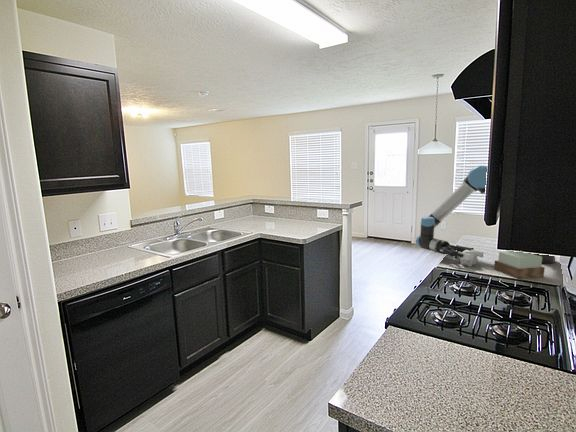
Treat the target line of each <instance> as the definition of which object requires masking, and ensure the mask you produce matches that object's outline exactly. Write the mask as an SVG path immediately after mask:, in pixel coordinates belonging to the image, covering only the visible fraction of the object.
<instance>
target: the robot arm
mask: <svg viewBox="0 0 576 432" xmlns="http://www.w3.org/2000/svg"><path fill="white" fill-rule="evenodd" d="M487 167H488V166H487V165H477V166H474V167H473V168H471V169H470V171H469V172H468V174H467V176H466V177H465V178H464V179H463V180H462V183H461V184H460V185H459V187H458V188H456V189H455V190H454V191H453V192H452V193H451V194H450V195H449V196H448V197H447V198H446V199H445V200H444V201H443V202H442V203H441V204H440V205H438V206H437V208H436V209H435V210H434V211H432V212H431V214H429V215H428V216H422V217H420V218H421V220H420V233H419V234H420V235H417V237H416V239H415V244H416V246H417V247H419V248H421V249H423V250H428V251H432V252H434V253H438V254H441V255H446V256H448V257H449V256H450V257H454V259H455V258H456V259H457V258H459V257H460V258H464V259H467V260H470V254H466V253H462V252H463V251H465V250H470V251H474V252H475V253H476V256H477V257H479V258H484V253H485V252H484V251H480V250H476V249H475V248H474V247H466V246H460V245H457V244H455V245H452V244H450V243H449V241H447V240H443V239H438V238H434V237H435V229H436V228H437V226H439V225H440V224H441V222H442V221H444V220H445V219H446V218H448V216H449V215H450V214H452V212H453V211H454V210H456V209H457V208H458V207H459V206H460V205H461V204H462V203H463V202H464V201H465V200H466V199H467V198H469V197H470V195H472V194H473V193H475V192H476V193H477V192H480V194H481V195H486V194H485V185H486V172H487ZM534 255H538V256H541V257H542V264H554V262H555V263H556V256H555V255H554V256H549V255H539V254H534Z"/></svg>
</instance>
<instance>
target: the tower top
mask: <svg viewBox="0 0 576 432" xmlns="http://www.w3.org/2000/svg"><path fill="white" fill-rule="evenodd" d="M514 251H515V250H506V251H499V252H498V260H497V261H499V262H502V263H504V264H507V265H510V266H513V267H516V268H519V269H523V268H536V267H542V264H543V263H542V257H541V256H538V255H534V254H531V253H523V252H514Z"/></svg>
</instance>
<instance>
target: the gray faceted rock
mask: <svg viewBox="0 0 576 432" xmlns="http://www.w3.org/2000/svg"><path fill="white" fill-rule="evenodd" d="M462 253H466V254H470V260H467V259H464V258H460V257H458V258H459V261H460V263H461V265H464V266H466V267H473V265H475V264H477V263H478V262H479V259H478V256H476V253H475V252H474V251H470V250H465V251H463V252H462Z"/></svg>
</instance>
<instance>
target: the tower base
mask: <svg viewBox="0 0 576 432" xmlns="http://www.w3.org/2000/svg"><path fill="white" fill-rule="evenodd" d="M493 265H494V266H493V270H495V271H497V272H499V273H501V274H502V273H503V274H505V275H507V276H510V277H512V278H513V279H514V278H515V279H517V280H518V279H519V280H520V279H533V278H543V277H544V276H545V266H544V267H543V266H541V267H536V268H523V269H519V268H516V267H513V266H510V265H507V264H504V263H502V262H499V261H498V260H494V264H493Z"/></svg>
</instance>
